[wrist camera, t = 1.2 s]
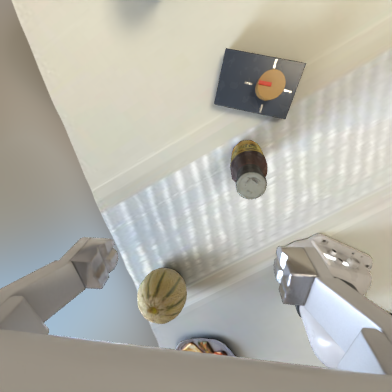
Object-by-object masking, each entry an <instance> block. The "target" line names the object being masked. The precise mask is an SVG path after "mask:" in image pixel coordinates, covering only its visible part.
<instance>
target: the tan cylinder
mask: <svg viewBox="0 0 392 392" xmlns="http://www.w3.org/2000/svg"><path fill="white" fill-rule="evenodd" d="M285 84H286V80H285V76H284V74H283V73H282V72H281V71H280V70H277V69H271V70H268V71H266V72H265V73H264V74H263V75H262V76H261V77H260V78H259V79H258V81H257V83H256V86H255V92H256V95H257V96H258V98H259V99H261V100H264V101H268V100H272V99H275V98H277V97H278V96H279V95H280V94H281V93H282V92H283V90H284V88H285Z"/></svg>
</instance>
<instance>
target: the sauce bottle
mask: <svg viewBox="0 0 392 392" xmlns="http://www.w3.org/2000/svg"><path fill="white" fill-rule="evenodd" d="M230 169H231V175H232V179H233V180H234V181H235V182H236V190H237V192H238V194H239V195H240V196H242V197H243V198H246V199H256V198H258V197H260V196H261V195H263V193H264V192H265V190H266V186H267V182H266V178H265V177H266V175H267V163H266V159H265V157H264V155H263V153H262V151H261V148H260V147H259V145H258V144H257V143H256V142H254V141H252V140H245V141H241V142H239V143H238V144H237V145H236V146H235V147H234V149H233V151H232V158H231V164H230Z"/></svg>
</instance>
